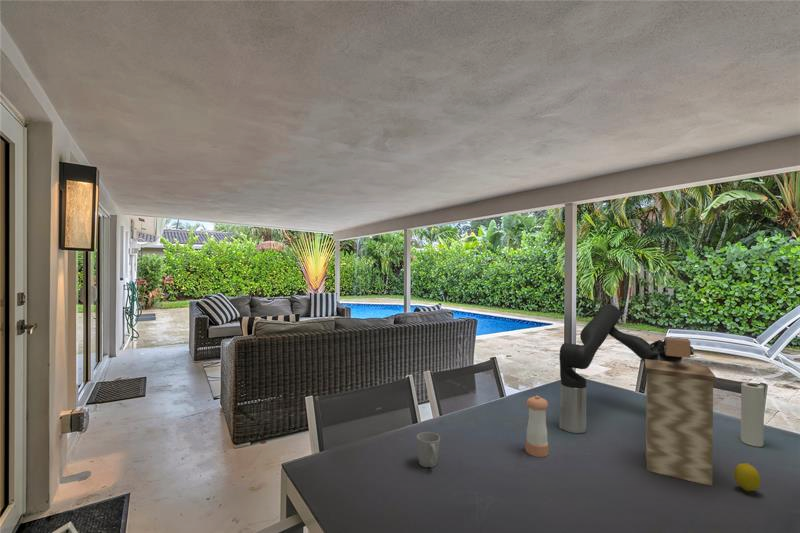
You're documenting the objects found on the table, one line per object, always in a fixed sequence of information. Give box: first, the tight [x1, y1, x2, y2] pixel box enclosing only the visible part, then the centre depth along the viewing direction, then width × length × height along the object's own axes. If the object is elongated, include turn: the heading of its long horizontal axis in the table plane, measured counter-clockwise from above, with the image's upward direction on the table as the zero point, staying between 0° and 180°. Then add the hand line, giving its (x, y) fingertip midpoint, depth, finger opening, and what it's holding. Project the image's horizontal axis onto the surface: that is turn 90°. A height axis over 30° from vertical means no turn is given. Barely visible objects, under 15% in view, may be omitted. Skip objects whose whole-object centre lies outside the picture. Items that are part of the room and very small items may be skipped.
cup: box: [415, 431, 441, 468], centre depth 122 cm, size 8×10×8 cm
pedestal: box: [644, 359, 717, 487], centre depth 122 cm, size 17×15×32 cm
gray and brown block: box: [664, 336, 691, 359], centre depth 129 cm, size 6×22×5 cm, turn 149°
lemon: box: [733, 462, 761, 493], centre depth 110 cm, size 6×6×8 cm
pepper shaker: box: [525, 395, 549, 458], centre depth 132 cm, size 7×7×19 cm
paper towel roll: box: [740, 382, 765, 448], centre depth 140 cm, size 7×6×21 cm
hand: (673, 339), depth 134 cm, fingers closed on gray and brown block, 2 cm apart
